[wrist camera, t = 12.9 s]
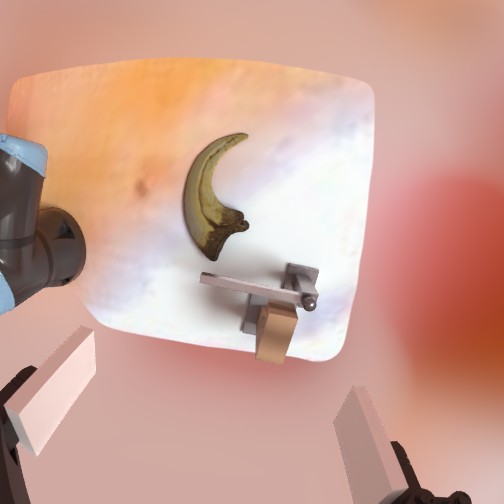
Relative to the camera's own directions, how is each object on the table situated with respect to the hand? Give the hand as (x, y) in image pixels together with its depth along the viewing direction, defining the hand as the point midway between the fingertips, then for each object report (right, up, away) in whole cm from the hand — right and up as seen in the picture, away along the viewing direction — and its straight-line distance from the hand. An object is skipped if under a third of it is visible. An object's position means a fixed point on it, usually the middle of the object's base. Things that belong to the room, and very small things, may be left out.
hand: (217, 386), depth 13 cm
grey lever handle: (+2, +3, +37) cm, 37 cm away
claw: (-3, +16, +35) cm, 38 cm away
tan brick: (+5, -3, +38) cm, 38 cm away
